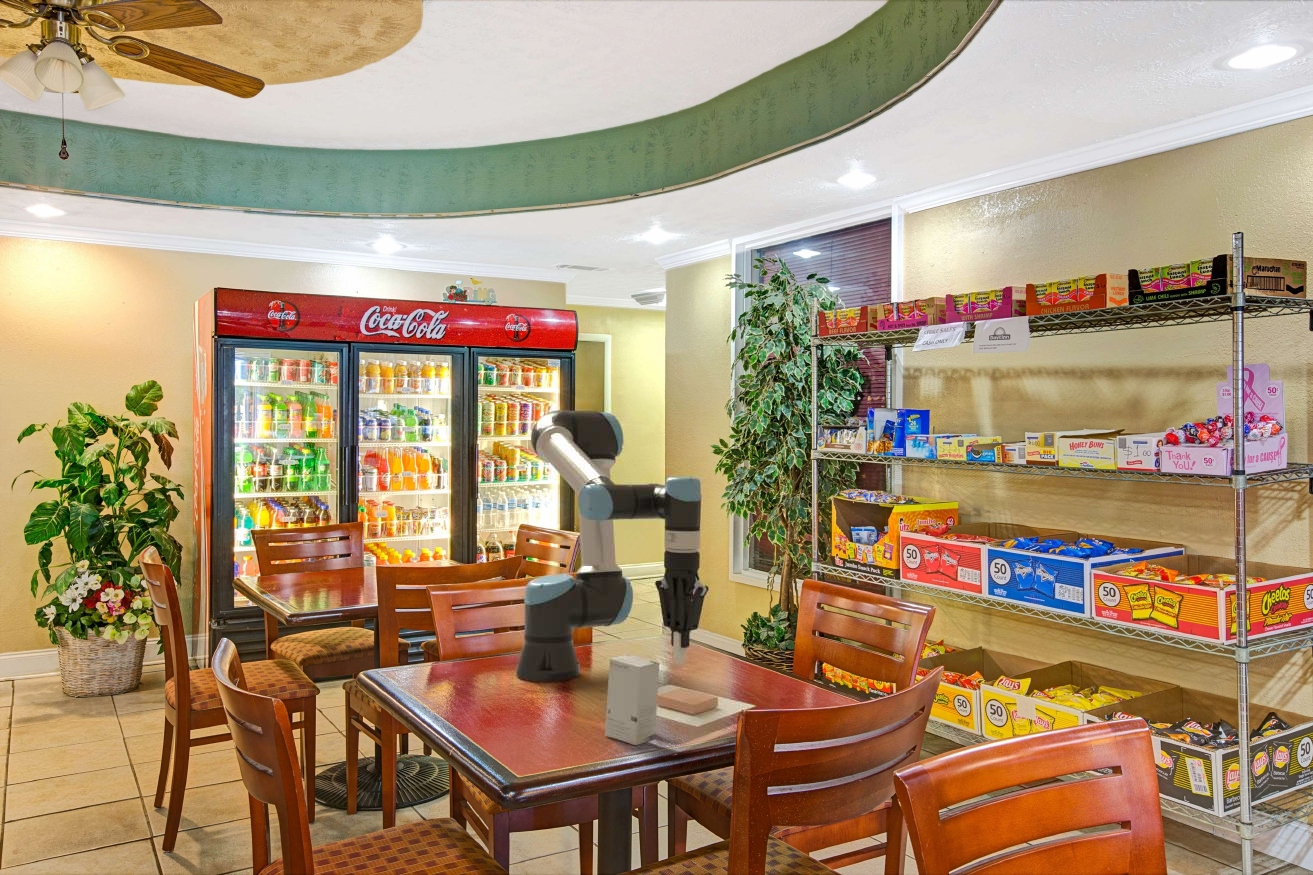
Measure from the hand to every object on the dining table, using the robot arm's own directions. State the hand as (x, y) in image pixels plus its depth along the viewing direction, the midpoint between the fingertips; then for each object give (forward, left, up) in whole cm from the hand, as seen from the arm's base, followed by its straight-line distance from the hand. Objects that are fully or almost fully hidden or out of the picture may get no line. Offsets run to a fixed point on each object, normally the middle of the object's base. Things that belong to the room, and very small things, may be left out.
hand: (679, 662), depth 188 cm
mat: (0, +1, -10) cm, 10 cm away
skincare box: (+5, -20, -10) cm, 23 cm away
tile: (-3, 0, -8) cm, 8 cm away
